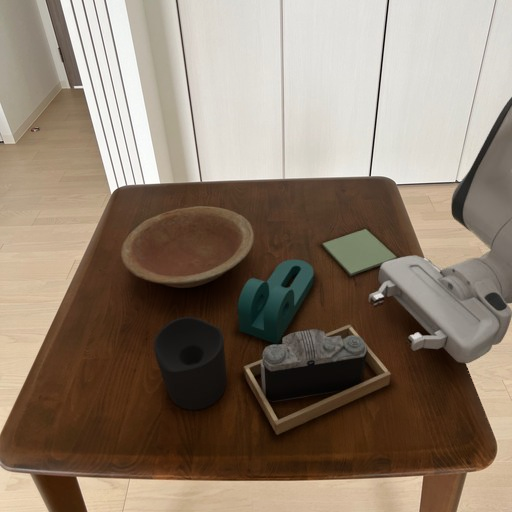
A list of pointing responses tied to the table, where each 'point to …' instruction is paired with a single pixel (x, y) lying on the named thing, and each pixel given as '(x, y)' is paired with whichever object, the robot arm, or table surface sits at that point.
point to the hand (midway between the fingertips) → (389, 321)
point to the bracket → (274, 300)
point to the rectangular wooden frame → (326, 404)
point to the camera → (312, 365)
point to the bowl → (187, 246)
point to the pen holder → (191, 362)
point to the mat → (358, 252)
